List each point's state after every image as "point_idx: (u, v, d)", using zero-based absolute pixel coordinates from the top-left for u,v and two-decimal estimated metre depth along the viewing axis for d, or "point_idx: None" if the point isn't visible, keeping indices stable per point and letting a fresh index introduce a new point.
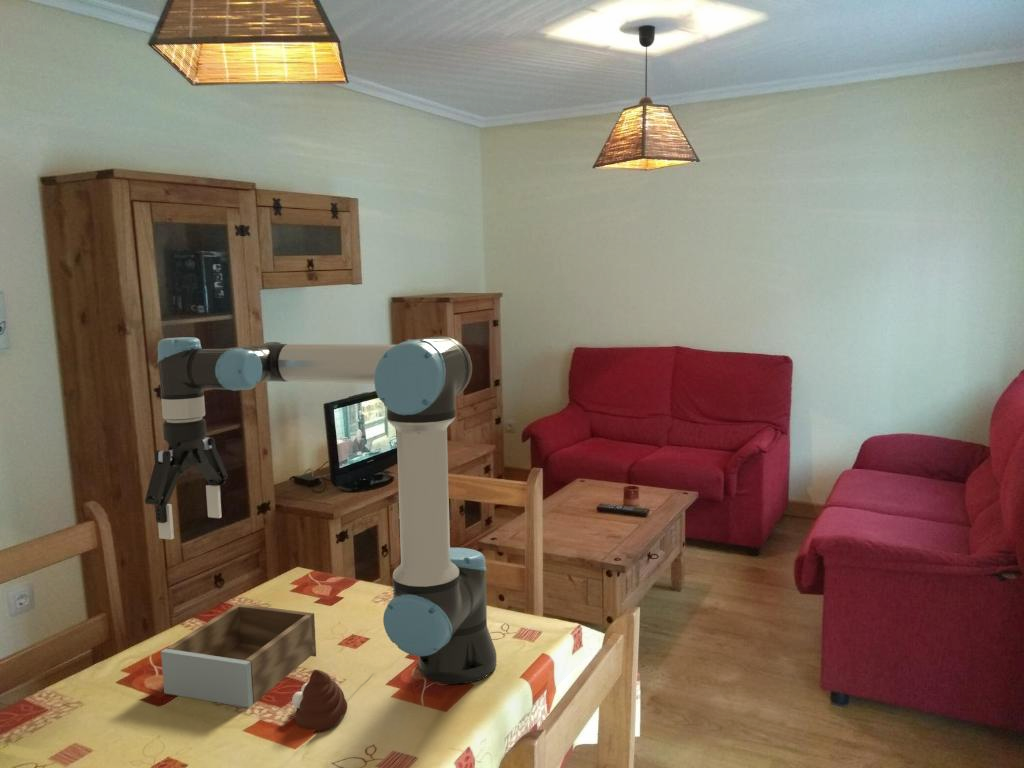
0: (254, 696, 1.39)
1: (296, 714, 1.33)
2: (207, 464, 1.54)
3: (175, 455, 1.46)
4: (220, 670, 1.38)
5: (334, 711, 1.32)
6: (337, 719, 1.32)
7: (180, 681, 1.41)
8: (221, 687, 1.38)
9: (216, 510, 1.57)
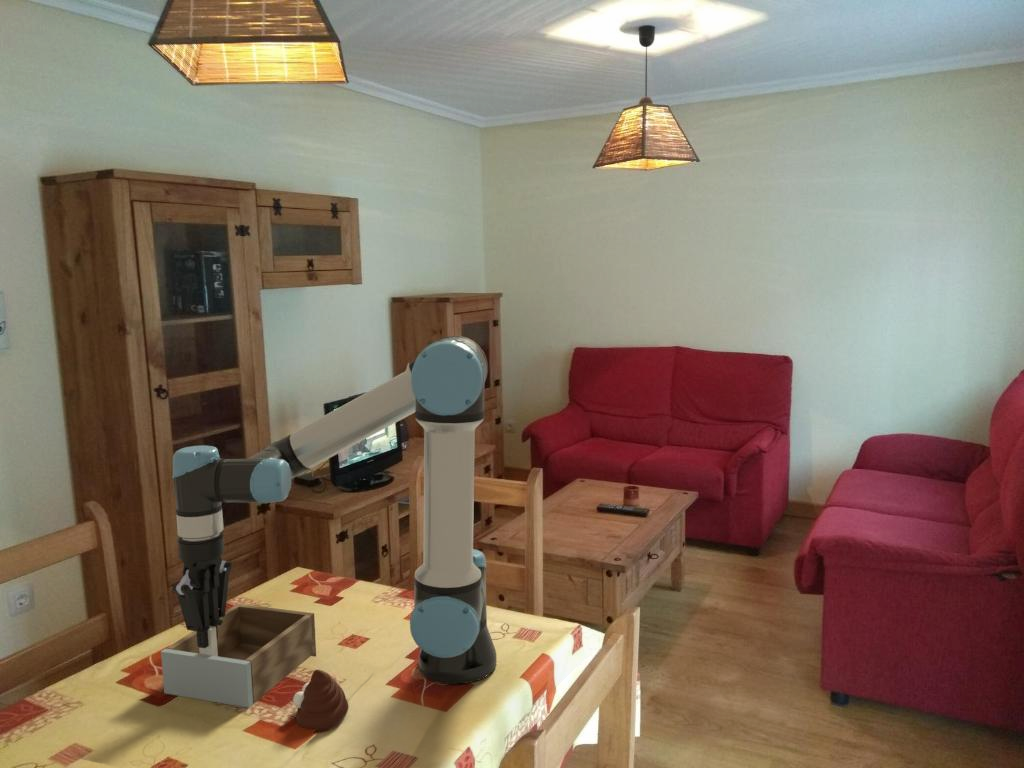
0: (254, 696, 1.39)
1: (297, 714, 1.33)
2: (215, 591, 1.40)
3: (193, 578, 1.35)
4: (220, 670, 1.38)
5: (335, 711, 1.33)
6: (338, 719, 1.32)
7: (180, 681, 1.41)
8: (221, 687, 1.38)
9: None
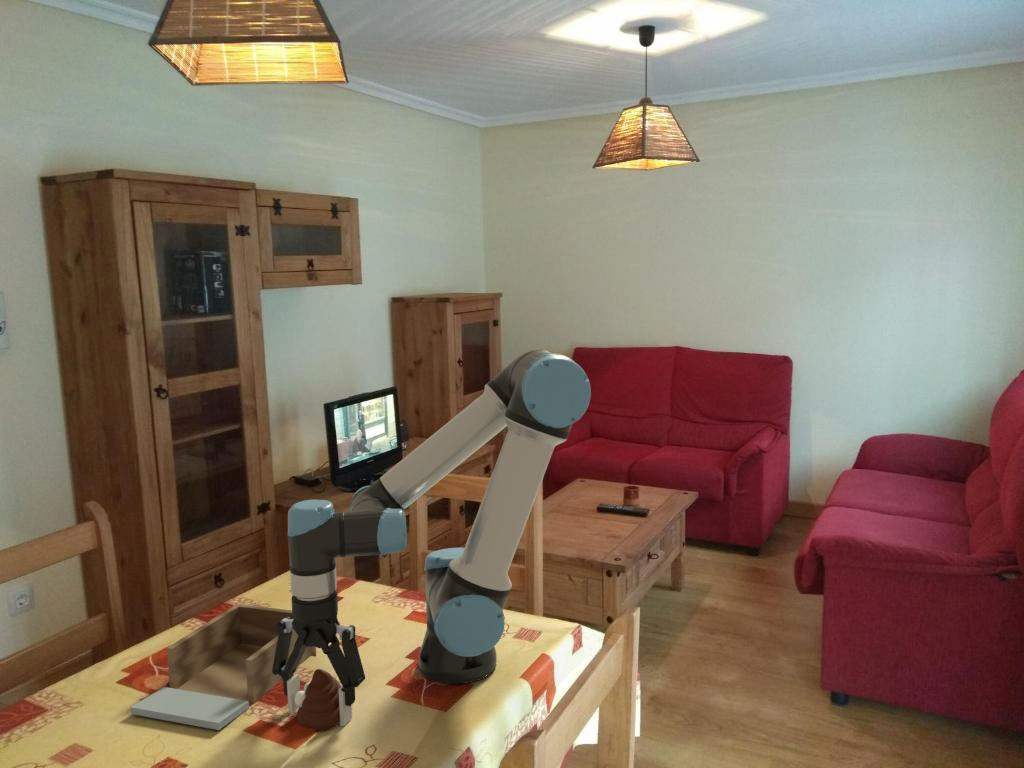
0: (254, 696, 1.39)
1: (298, 713, 1.33)
2: (331, 655, 1.31)
3: (293, 627, 1.33)
4: None
5: (336, 710, 1.33)
6: (339, 718, 1.33)
7: None
8: None
9: None
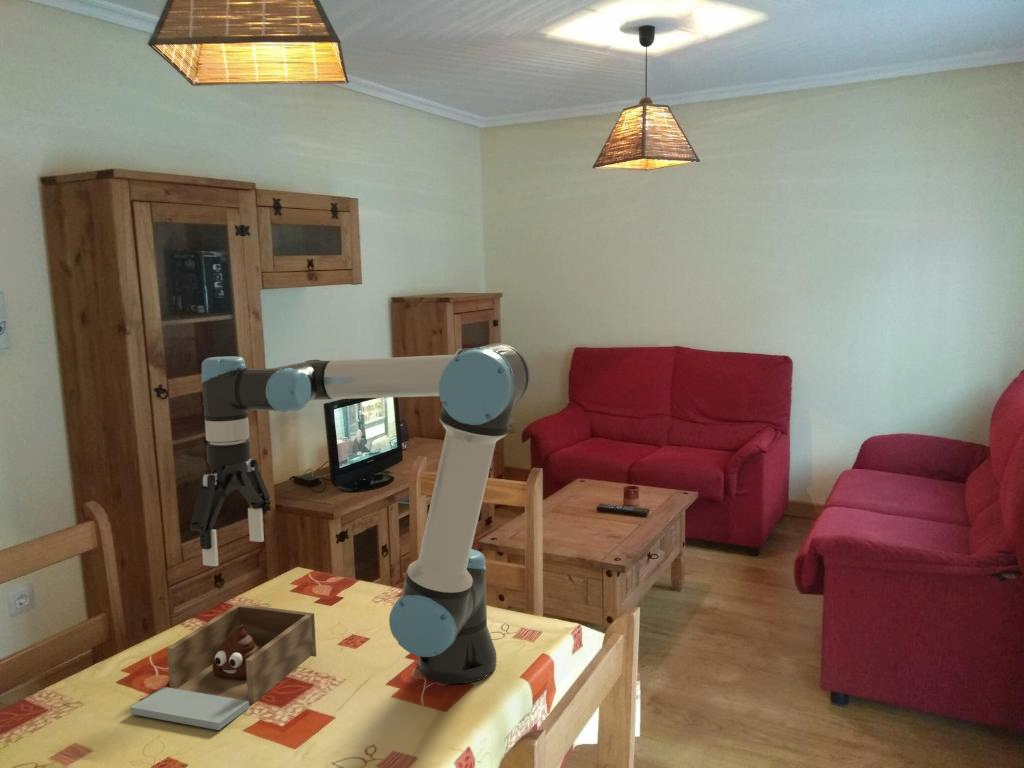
0: (254, 696, 1.39)
1: (243, 669, 1.46)
2: (250, 487, 1.49)
3: (219, 479, 1.41)
4: None
5: None
6: None
7: None
8: None
9: (258, 534, 1.52)
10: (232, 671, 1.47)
